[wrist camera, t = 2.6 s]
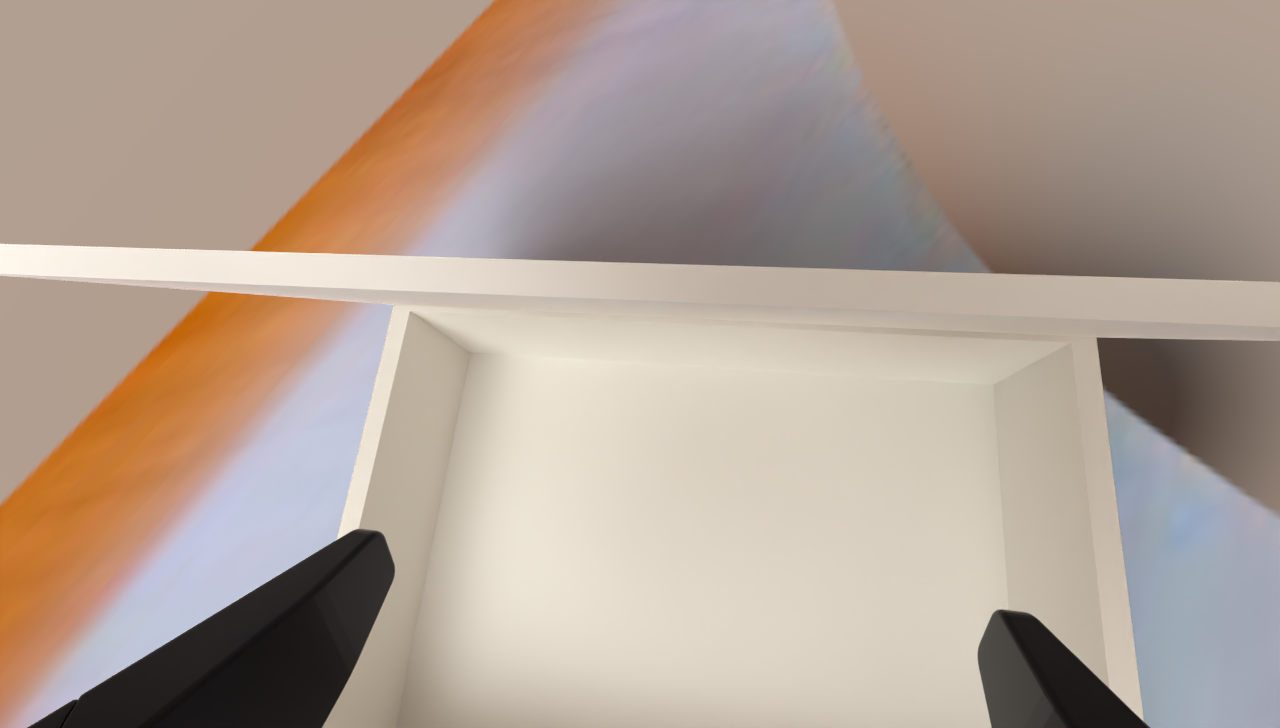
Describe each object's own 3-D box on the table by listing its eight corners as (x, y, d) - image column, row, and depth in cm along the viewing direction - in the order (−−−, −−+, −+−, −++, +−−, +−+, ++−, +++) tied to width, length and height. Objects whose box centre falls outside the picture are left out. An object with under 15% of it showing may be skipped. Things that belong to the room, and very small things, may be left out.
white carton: (1045, 947, 15) (1195, 1144, 10) (373, 801, 18) (249, 896, 14) (1003, 373, 19) (1094, 322, 14) (465, 342, 23) (397, 292, 18)
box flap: (1093, 337, 14) (1915, 353, 4) (394, 304, 17) (-50, 272, 8) (1095, 321, 14) (1927, 302, 4) (395, 291, 17) (-52, 242, 8)
